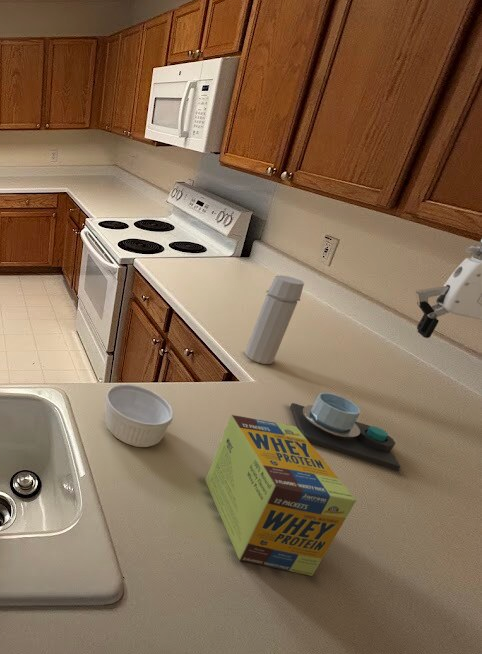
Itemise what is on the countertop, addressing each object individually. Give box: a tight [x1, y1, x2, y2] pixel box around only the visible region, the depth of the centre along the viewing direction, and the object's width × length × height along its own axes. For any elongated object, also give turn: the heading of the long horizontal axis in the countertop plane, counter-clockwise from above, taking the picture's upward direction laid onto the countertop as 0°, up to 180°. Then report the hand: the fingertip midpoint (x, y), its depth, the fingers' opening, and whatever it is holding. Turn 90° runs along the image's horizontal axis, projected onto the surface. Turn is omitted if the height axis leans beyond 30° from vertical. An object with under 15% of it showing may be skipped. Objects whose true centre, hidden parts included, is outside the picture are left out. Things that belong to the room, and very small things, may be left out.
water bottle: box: [244, 274, 305, 365], centre depth 116 cm, size 9×8×25 cm
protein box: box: [204, 414, 357, 577], centre depth 65 cm, size 10×15×16 cm
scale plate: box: [303, 404, 360, 438], centre depth 90 cm, size 10×10×1 cm
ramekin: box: [104, 383, 174, 448], centre depth 86 cm, size 13×13×7 cm
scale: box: [289, 402, 401, 472], centre depth 90 cm, size 16×13×3 cm
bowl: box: [311, 392, 362, 430], centre depth 89 cm, size 7×7×5 cm
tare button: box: [367, 425, 389, 442], centre depth 87 cm, size 3×3×2 cm
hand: (456, 342), depth 78 cm, fingers open, 9 cm apart
